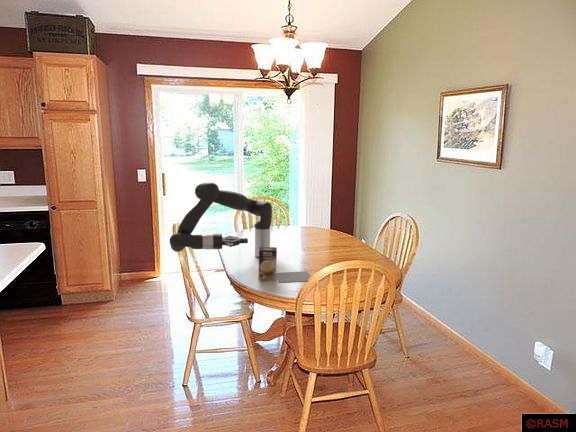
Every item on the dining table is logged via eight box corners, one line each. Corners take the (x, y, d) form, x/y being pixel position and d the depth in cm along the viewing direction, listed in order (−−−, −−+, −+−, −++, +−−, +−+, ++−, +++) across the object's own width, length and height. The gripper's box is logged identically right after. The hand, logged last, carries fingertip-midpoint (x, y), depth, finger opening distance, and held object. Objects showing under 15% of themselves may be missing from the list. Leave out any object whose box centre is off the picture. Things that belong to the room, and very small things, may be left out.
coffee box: (258, 280, 208) (258, 250, 205) (258, 276, 214) (258, 246, 211) (276, 280, 208) (276, 250, 205) (276, 276, 215) (276, 246, 211)
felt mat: (274, 273, 219) (274, 272, 219) (307, 271, 222) (307, 271, 222) (279, 282, 205) (279, 282, 205) (313, 280, 209) (314, 280, 209)
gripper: (212, 237, 194) (249, 236, 198) (211, 231, 207) (246, 230, 211) (212, 252, 196) (249, 251, 199) (212, 245, 209) (246, 244, 212)
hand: (247, 240), depth 205 cm, fingers closed
